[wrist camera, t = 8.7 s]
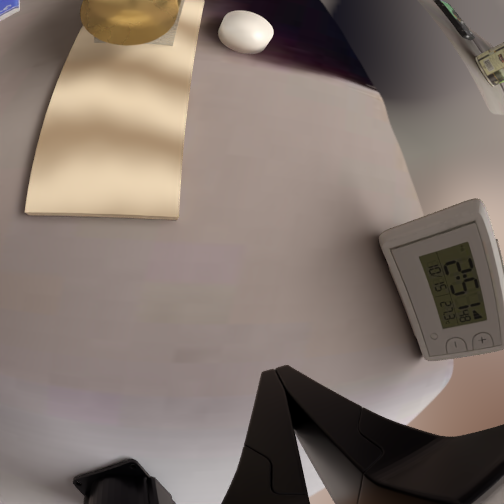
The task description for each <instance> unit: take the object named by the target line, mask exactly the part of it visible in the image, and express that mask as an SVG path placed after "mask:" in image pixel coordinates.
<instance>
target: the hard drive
mask: <svg viewBox="0 0 504 504" xmlns="http://www.w3.org/2000/svg"><path fill="white" fill-rule="evenodd" d="M18 11H20V0H0V21H1V20H3V19H5V18H6V17H8V16H10V15H12V14H14V13H16V12H18Z"/></svg>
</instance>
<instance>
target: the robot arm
mask: <svg viewBox="0 0 504 504" xmlns="http://www.w3.org/2000/svg"><path fill="white" fill-rule="evenodd" d="M295 434H296V436H297V437H298V439H299V441H300V443H301V445H302V447H303V448H304V450H305V452H306V454H307V456H308V457H309V459H310V461H311V463H312V465H313V466H314V468H315V470H316V472H317V473H318V475H319V477H320V479H321V480H322V482H323V484H324V485H325V487H326V489H327V490H328V492H329V494H330V496H331V497H332V499H333V501H334V502H335V504H504V424H503V425H500V426H497V427H493V428H490V429H486V430H482V431H479V432H475V433H471V434H466V435H462V436H457V437H445V436H439V435H435V434H432V433H428V432H424V431H422V430H418V429H415V428H412V427H409V426H406V425H403V424H400V423H397V422H394V421H392V420H389V419H387V418H384V417H382V416H380V415H378V414H376V413H373V412H371V411H369V410H368V409H366V408H362V407H361V406H360V405H358V404H356V403H354V402H352V401H350V400H348V399H346V398H345V397H343V396H341V395H339V394H337V393H335V392H334V391H332V390H330V389H328V388H326V387H325V386H323V385H321V384H319V383H318V382H316V381H314V380H312V379H311V378H309V377H307V376H306V375H304V374H302V373H300V372H299V371H297V370H295V369H294V368H292V367H290V366H289V365H284V366H281V367H278V368H276V369H275V370H274V369H271V370H267V371H263V372H262V373H261V377H260V381H259V386H258V390H257V394H256V399H255V403H254V407H253V411H252V415H251V419H250V423H249V427H248V431H247V435H246V439H245V443H244V447H243V451H242V454H241V458H240V461H239V464H238V468H237V470H236V473H235V475H234V478H233V480H232V482H231V485H230V487H229V489H228V491H227V493H226V495H225V497H224V499H223V501H222V503H221V504H310V502H309V497H308V493H307V488H306V483H305V478H304V474H303V469H302V464H301V460H300V455H299V450H298V446H297V441H296V436H295ZM132 464H133V465H135V466H131V465H132ZM78 482H80V483H78ZM73 484H74V485H75V486H76V487H77V488H78V489H79V491H80V492H81V493H82V494H83V495H84V496H85V497H84V503H83V504H176V503H175V502H174V501H173V500H172V496H171V494H170V493H169V492H168V491H167V490H166V489H165V488H164V487H163V486H162V485H161V484H160V483H159V482H158V480H157V479H156V478H154V477H150V475H149V474H148V473H147V472H146V471H145V470H144V468H143V467H142V466H141V465H140V464H139V463H138V462H137V461H136V460H133V459H131V460H127V461H124V462H122V463H119V464H116V465H113V466H110V467H107V468H104V469H101V470H98V471H95V472H91V473H88V474H85V475H81V476H78V477H75V478H74V480H73Z"/></svg>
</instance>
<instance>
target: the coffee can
mask: <svg viewBox="0 0 504 504" xmlns="http://www.w3.org/2000/svg"><path fill="white" fill-rule="evenodd" d="M475 59H476V62H477V64H478V66H479V68H480V70H481V71H482V73H483V75H484V76H485V78H486V79H487V80H488V82H489V83H490V84H491V85H492V86H493V87H494V86H495V85H497V84H500V83H502V82H504V42H503V43H501V44H499V45H497V46H495V47H494V48H492V49H490V50H488V51H486V52H484V53H482V54H481V55H479V56H477V57H475Z"/></svg>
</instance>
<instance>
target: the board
mask: <svg viewBox="0 0 504 504" xmlns="http://www.w3.org/2000/svg"><path fill="white" fill-rule="evenodd" d="M203 6H204V1H203V0H185V1H184V4H183V8H182V12H181V15H180V19H179V23H178V27H177V31H176V35H175V39H174V43H173V46H169V45H157V44H139V45H128V46H125V45H115V44H110V43H94V36H93V35H91V34H90V33H89V32H88V31H87V30H86V29H85V27H84V25H83V26H82V28H81V30H80V32H79V34H78V36H77V38H76V40H75V42H74V44H73V46H72V48H71V51H70V53H69V55H68V57H67V60H66V62H65V64H64V67H63V69H62V71H61V74H60V76H59V79H58V81H57V84H56V87H55V89H54V92H53V95H52V98H51V101H50V104H49V107H48V110H47V113H46V116H45V119H44V123H43V126H42V130H41V133H40V137H39V141H38V145H37V149H36V153H35V157H34V161H33V166H32V171H31V176H30V181H29V187H28V193H27V199H26V206H25V213H27V214H28V215H43V216H88V217H119V218H144V219H166V220H177V219H178V218H179V201H180V185H181V170H182V158H183V146H184V136H185V126H186V116H187V108H188V99H189V91H190V84H191V77H192V70H193V63H194V56H195V50H196V44H197V38H198V32H199V27H200V21H201V16H202V11H203Z"/></svg>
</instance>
